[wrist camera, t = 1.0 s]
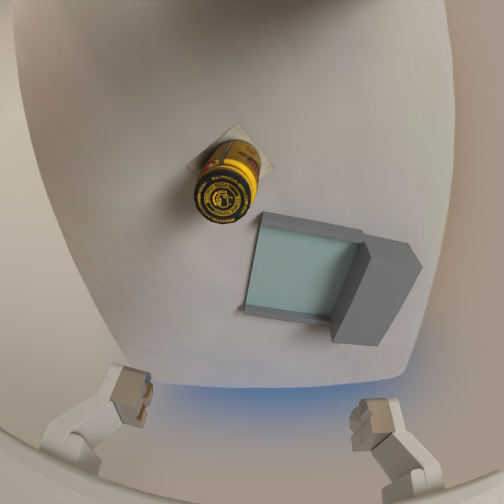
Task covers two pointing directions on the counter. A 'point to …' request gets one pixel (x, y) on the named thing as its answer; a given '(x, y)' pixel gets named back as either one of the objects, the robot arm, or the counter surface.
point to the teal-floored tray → (329, 277)
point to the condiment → (228, 176)
